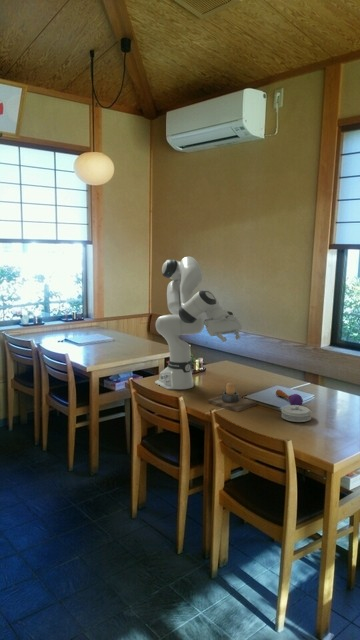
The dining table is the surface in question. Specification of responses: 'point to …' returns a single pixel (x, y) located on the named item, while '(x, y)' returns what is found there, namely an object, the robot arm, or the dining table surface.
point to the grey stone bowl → (230, 397)
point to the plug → (230, 389)
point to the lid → (296, 413)
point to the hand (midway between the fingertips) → (232, 339)
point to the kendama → (291, 398)
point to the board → (236, 406)
